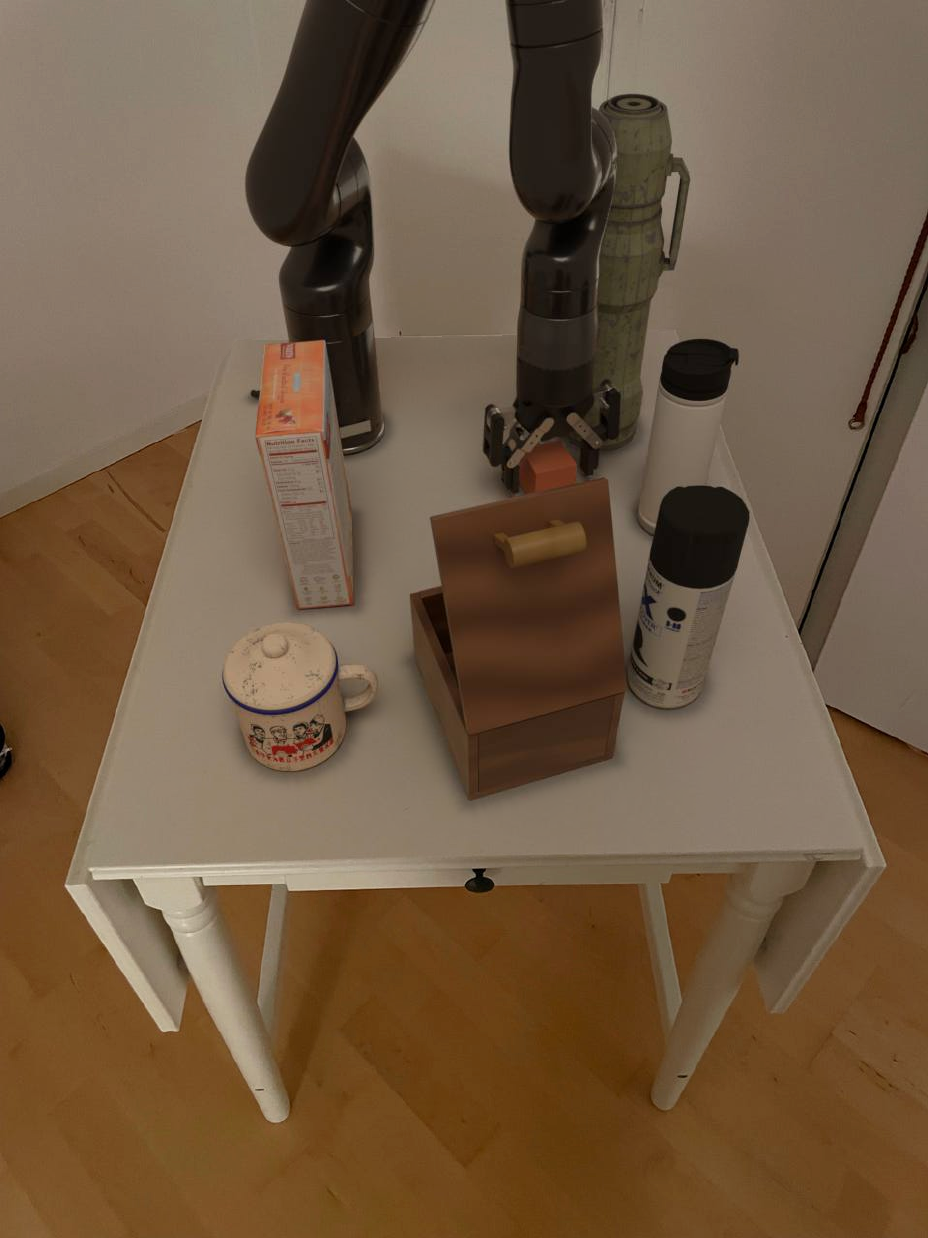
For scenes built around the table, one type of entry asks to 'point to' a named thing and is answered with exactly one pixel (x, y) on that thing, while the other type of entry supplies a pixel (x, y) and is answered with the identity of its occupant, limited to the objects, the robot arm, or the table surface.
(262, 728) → the teacup with lid
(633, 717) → the table surface
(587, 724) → the chest
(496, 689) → the lid
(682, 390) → the travel mug
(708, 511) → the spray can
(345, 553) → the cracker box
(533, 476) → the block
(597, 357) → the thermos
